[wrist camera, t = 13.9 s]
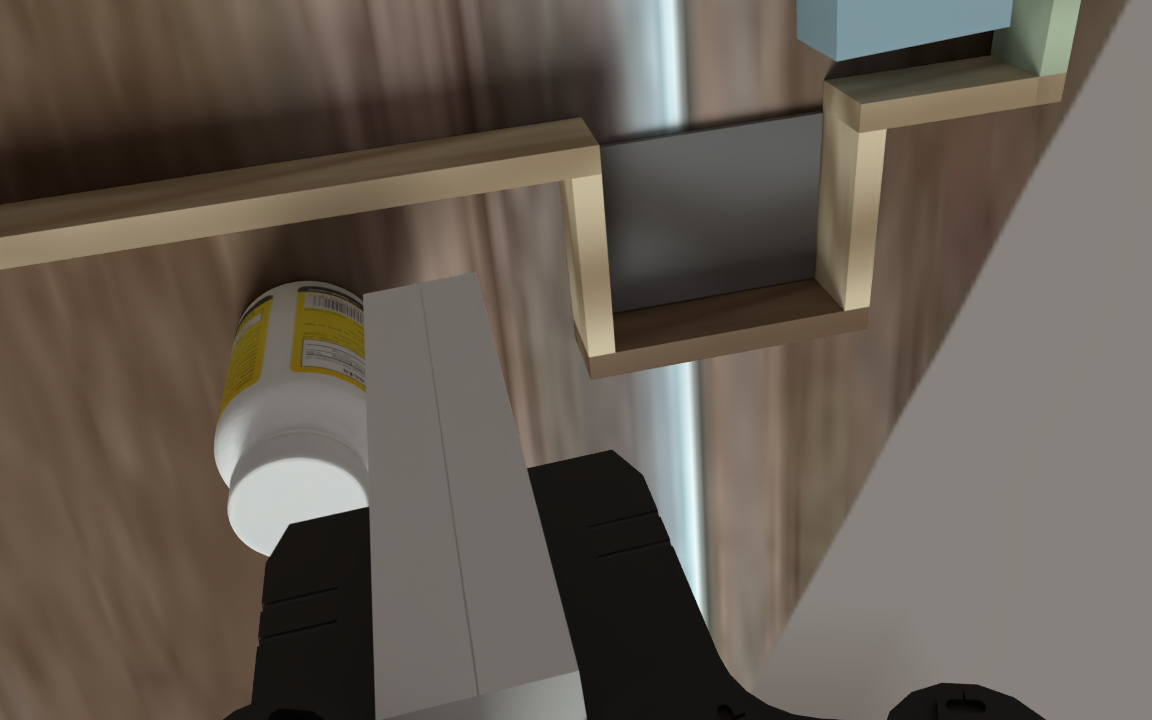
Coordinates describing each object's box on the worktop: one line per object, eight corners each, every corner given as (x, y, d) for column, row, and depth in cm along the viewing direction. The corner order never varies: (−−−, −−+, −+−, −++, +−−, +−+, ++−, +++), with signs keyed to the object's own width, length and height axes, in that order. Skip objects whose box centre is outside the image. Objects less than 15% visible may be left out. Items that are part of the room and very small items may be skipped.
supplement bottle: (262, 413, 36) (234, 597, 28) (215, 293, 33) (167, 459, 25) (400, 383, 37) (411, 555, 29) (365, 262, 34) (366, 416, 26)
